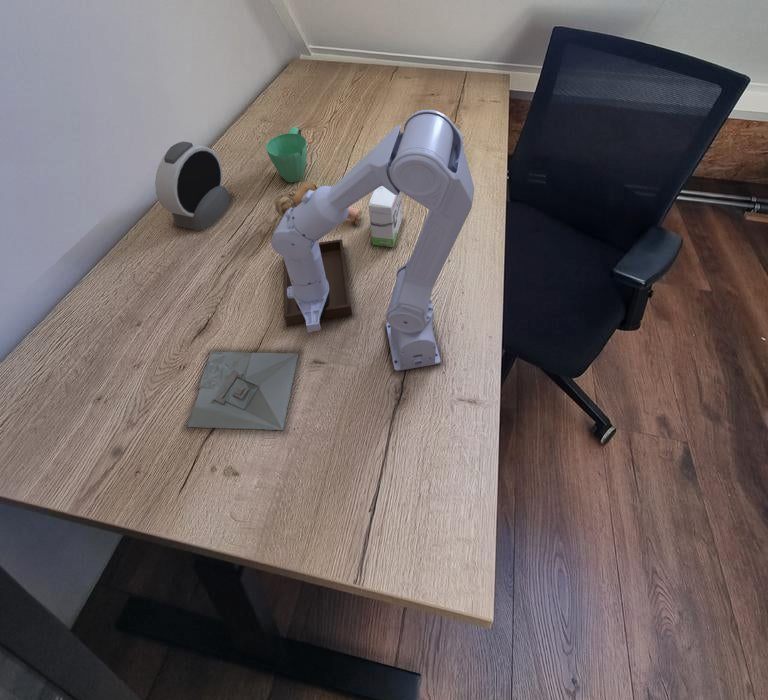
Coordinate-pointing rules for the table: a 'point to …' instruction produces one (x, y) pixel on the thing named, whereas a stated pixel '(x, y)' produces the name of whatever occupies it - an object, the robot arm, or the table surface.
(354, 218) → the grandmother figurine
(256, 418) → the grey green square plate
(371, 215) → the ink box
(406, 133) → the robot arm
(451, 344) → the table surface
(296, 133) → the mug
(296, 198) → the lion figurine
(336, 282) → the tray
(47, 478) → the table surface
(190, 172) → the alarm clock
